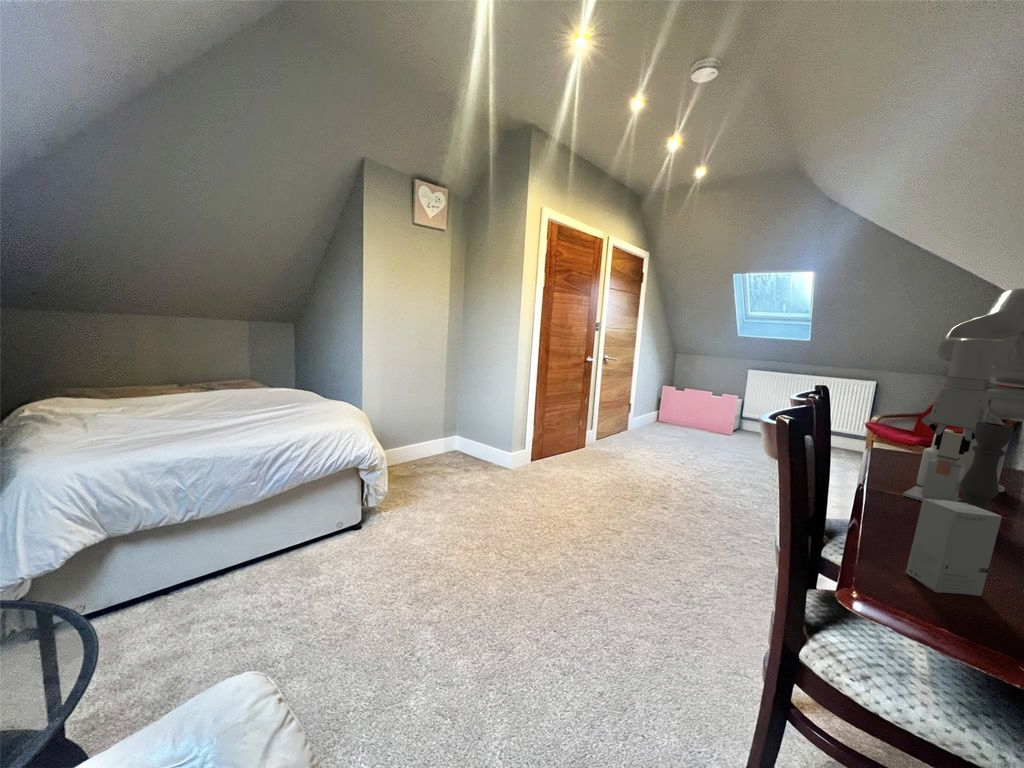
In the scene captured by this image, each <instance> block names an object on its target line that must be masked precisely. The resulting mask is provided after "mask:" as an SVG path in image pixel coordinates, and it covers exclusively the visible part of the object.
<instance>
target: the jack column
mask: <svg viewBox="0 0 1024 768" xmlns="http://www.w3.org/2000/svg"><path fill="white" fill-rule="evenodd" d="M964 437H965V435H963V433H955V432H953V433H951V432H944V433H943V436H942V440H941V445H940V449H939V453H938V455H937V462H939V461H940V460H941V461H945V462H949V463H950V465H952V466H956V467H957V466H958V464H959V460H960V458H961V457H960V456H961V454H959V450H960V446H961V442H962V440H963V439H964Z"/></svg>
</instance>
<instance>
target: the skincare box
mask: <svg viewBox="0 0 1024 768" xmlns="http://www.w3.org/2000/svg"><path fill="white" fill-rule="evenodd" d="M918 515H919V516H918V519H917V523H916V528H915V531H914V537H913V539H912V540H913V541H912V545H911V549H910V553H909V558H908V562H907V565H906V566H907V567H906V570H905V573H906V574H907V575H909V576H910V577H912V578H913V579H915V580H916V581H917V582H919V583H921V584H922V585H923V586H925V587H926V588H928V589H930V591H933V592H934V593H939V594H940V593H943V594H957V595H959V594H960V595H970V596H977V597H979V596H982V594H983V593H984V592H983V591H984V587H985V583H986V579H987V576H988V572H989V568H990V564H991V560H992V558H993V557H992V556H993V553H994V548H995V544H996V540H997V536H998V533H999V530H1000V525H1001V521H1002V518H1003V516H1002V515H999V514H997V513H995V512H993V511H992V512H990V511H987V510H984V509H981V508H979V507H976V506H973V505H971V504H968V503H961V502H952V501H947V500H933V499H923V501H922V502H921V506H920V510H919V514H918Z"/></svg>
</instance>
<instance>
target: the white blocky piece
mask: <svg viewBox="0 0 1024 768" xmlns="http://www.w3.org/2000/svg"><path fill="white" fill-rule="evenodd" d="M965 466H966V465H964V464H958V466H957V467H956V466H952V465H950V463H949V462H945V461H941V460H940V461H939V462H937V458H934V459H932V460H930V461H929V464H928V468H927V473H926V477H925V481H924V485H923V487H922V486H919V485H915V486H912V488H909V489H907V490H906V491H904V492H903V494H902V497H904V496H906V497H905V498H907V497H910V498H909V499H911V498H913V499H912V500H914V499H916V500H915V501H918V500H920V501H919V502H921V501H923V499H933V500H947V501H952V502H957V501H959V500H961V499H962V498H963V497H959V494H960V490H961V488H960V483H961V481H962V478H963V474H964V470H965Z"/></svg>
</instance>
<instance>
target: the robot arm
mask: <svg viewBox="0 0 1024 768" xmlns="http://www.w3.org/2000/svg"><path fill="white" fill-rule="evenodd" d="M936 351H937V352H936V354H937V358H938V360H939V361H941V362H942V363H945V364H950V365H949V368H948V373H947V375H946V381H945V385H944V386H942V387H941V388H940V389H939V391H938V394H937V395H936V398H935V401H934V403H933V406H932V409H931V412H929V413H928V414H927V415H925V416H924V417H923V418H921V419H920V421H921V423H922V424H925V425H926V426H928V427H929V429H931V430H932V431H933V432H934V434H936V439H935V443H934V445H935V446H937V447H936V449H937V450H939V449H940V445H941V440H942V436H943V433H944V431H945V429H947V426H949V427H950V426H951V427H955V428H961V429H963V432H962V435H965V437H964V439H963V440H962V442H961V446H960V450H959V454H961V456H960V457H961V458H960V460H959V464H964V465H966V466H965V470H964V474H963V478H964V476H965V475H966V473H967V472H968V470H969V469H970V467H971V466H972V463H973V459H974V455H975V452H974V450H972V447H973V446H976V445H977V443H976V440H975V435H974V431H975V427H976V423H977V422H988V423H996V424H1002V425H1006V424H1005V423H1004V422H1003V421H1002V420H1008V421H1015V422H1022V423H1024V288H1023V287H1022V288H1013V289H1010V290H1006V291H1003V292H1002V293H1000V294H999V295H998V296H997V297H996V298H995V299H994V302H992V304H991V306H990V307H989V308H988V310H987V311H986V313H985V314H984V315H982V316H979V317H975V318H972V319H970V320H967V321H965V322H961V323H959V324H958V325H957V324H956V325H955V326H954V327H952V328H951V329H949V331H947V333H946V334H945V336H944V337H943V338H942V340H941V342H940V343H939V345H938V347H937V350H936ZM1006 386H1007V387H1006ZM1009 442H1010V441H1008V444H1007V445H1005V446H1004V447H1003V448H1002V450H1003V451H1004V452H1005V453H1007V450H1008V446H1009ZM1005 457H1006V454H1005V455H1004V456H1001V457H1000V458H999V462H998V466H997V479H998V482H999V481H1000V476H1001V473H1002V469H1003V466H1004V462H1005ZM963 478H962V479H963ZM998 488H999V492H998V493H1003V492H1005V489H1006V488H1005V487H1004V486H1003V485H1001V484H999V483H998Z"/></svg>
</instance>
